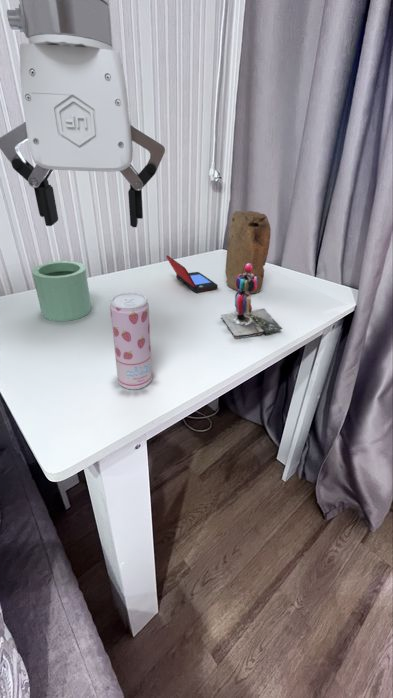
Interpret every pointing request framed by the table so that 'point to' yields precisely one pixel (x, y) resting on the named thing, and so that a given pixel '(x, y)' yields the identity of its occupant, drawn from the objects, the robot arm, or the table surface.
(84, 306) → the jar
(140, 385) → the beverage can
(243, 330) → the statue
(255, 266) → the block
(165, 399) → the table surface
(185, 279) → the handheld console
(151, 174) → the robot arm
